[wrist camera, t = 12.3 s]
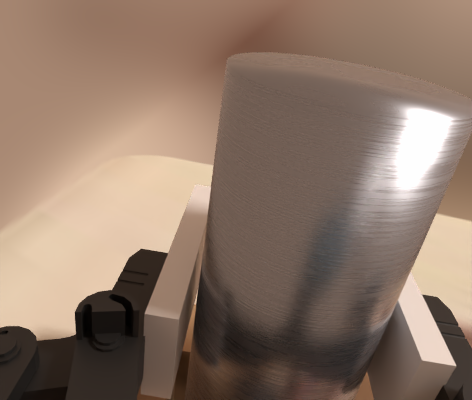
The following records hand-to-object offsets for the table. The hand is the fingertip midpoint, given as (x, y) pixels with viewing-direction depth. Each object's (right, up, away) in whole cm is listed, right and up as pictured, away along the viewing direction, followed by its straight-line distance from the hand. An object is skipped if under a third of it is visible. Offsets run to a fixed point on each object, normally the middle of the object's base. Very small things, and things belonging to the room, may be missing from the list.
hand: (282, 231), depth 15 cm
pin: (-2, -10, +1) cm, 10 cm away
